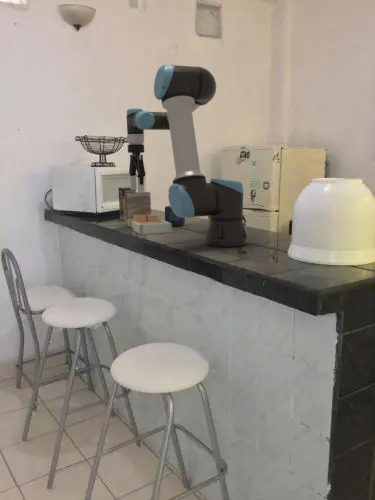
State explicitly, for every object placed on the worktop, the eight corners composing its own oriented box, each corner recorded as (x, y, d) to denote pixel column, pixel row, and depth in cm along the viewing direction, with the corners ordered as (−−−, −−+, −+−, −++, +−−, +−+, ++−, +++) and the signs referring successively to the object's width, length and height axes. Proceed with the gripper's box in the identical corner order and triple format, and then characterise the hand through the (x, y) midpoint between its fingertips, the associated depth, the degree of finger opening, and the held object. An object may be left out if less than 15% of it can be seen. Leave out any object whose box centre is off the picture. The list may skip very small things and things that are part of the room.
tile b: (146, 222, 203) (146, 215, 202) (136, 223, 201) (136, 216, 201) (143, 221, 207) (143, 214, 207) (133, 221, 206) (133, 215, 205)
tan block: (151, 218, 217) (150, 192, 214) (128, 219, 213) (127, 193, 210) (148, 217, 220) (147, 191, 218) (126, 218, 217) (125, 192, 214)
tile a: (157, 221, 205) (157, 215, 204) (147, 222, 203) (147, 215, 202) (154, 220, 209) (154, 213, 209) (144, 220, 208) (144, 214, 207)
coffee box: (119, 219, 238) (117, 187, 235) (131, 218, 240) (130, 187, 237) (124, 221, 230) (123, 188, 226) (136, 220, 232) (135, 188, 229)
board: (160, 228, 204) (160, 222, 203) (136, 230, 200) (135, 223, 200) (147, 222, 222) (147, 216, 222) (125, 224, 219) (125, 218, 218)
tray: (171, 232, 194) (171, 223, 193) (140, 234, 189) (140, 225, 188) (163, 228, 205) (162, 219, 204) (133, 230, 200) (132, 221, 199)
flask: (185, 225, 214) (184, 202, 212) (184, 226, 211) (184, 202, 209) (165, 225, 214) (164, 202, 212) (164, 226, 211) (164, 203, 209)
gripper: (121, 144, 220) (123, 189, 225) (134, 143, 197) (136, 193, 202) (136, 144, 223) (138, 188, 227) (151, 143, 200) (152, 192, 204)
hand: (137, 190), depth 214 cm, fingers open, 13 cm apart
